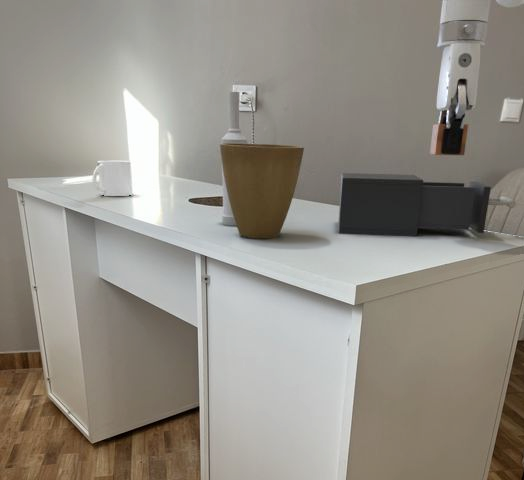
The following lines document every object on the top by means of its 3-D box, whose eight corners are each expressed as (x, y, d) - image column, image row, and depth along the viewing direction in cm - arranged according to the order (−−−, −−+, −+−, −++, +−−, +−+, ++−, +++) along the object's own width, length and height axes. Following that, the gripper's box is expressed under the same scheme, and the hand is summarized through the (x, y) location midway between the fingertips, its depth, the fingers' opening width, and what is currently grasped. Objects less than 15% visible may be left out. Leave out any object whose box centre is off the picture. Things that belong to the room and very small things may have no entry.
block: (457, 154, 101) (461, 124, 99) (464, 155, 97) (468, 124, 95) (429, 153, 102) (433, 124, 100) (434, 154, 97) (438, 124, 95)
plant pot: (233, 244, 95) (233, 145, 89) (212, 230, 108) (210, 142, 102) (313, 240, 100) (317, 146, 94) (283, 227, 113) (286, 143, 107)
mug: (123, 192, 167) (121, 160, 163) (138, 195, 160) (136, 161, 157) (85, 195, 159) (82, 161, 156) (99, 198, 153) (96, 162, 150)
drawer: (498, 224, 115) (505, 182, 112) (515, 234, 104) (523, 187, 101) (403, 221, 117) (407, 179, 114) (410, 230, 106) (415, 184, 103)
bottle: (229, 221, 119) (228, 93, 110) (251, 223, 117) (252, 92, 108) (217, 224, 115) (215, 91, 105) (239, 226, 112) (239, 91, 103)
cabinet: (408, 225, 118) (414, 174, 114) (416, 236, 106) (423, 180, 102) (338, 223, 119) (341, 173, 116) (338, 233, 108) (342, 177, 104)
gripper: (500, 28, 84) (481, 155, 91) (472, 44, 100) (457, 151, 107) (449, 28, 85) (434, 154, 92) (429, 44, 101) (417, 151, 107)
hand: (447, 152), depth 99 cm, fingers closed on block, 5 cm apart
